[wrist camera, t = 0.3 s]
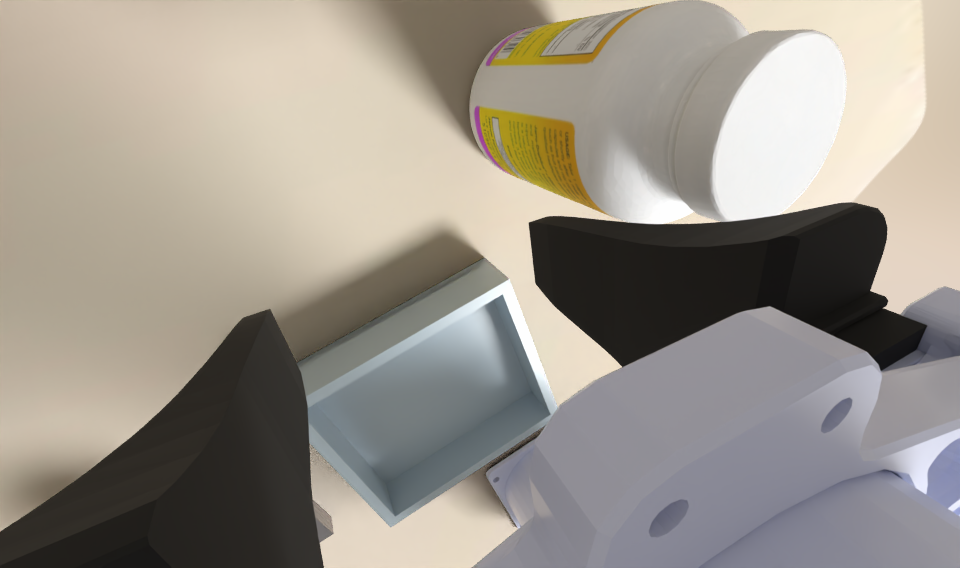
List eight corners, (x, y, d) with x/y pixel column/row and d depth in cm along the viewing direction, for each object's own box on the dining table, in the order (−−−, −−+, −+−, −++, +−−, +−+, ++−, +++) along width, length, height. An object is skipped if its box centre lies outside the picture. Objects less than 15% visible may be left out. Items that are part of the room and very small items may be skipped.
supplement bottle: (552, 188, 24) (777, 283, 13) (446, 151, 20) (632, 237, 10) (602, 62, 22) (912, 54, 11) (493, -1, 19) (786, -95, 8)
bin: (536, 386, 30) (560, 415, 27) (380, 486, 28) (390, 527, 25) (484, 257, 24) (509, 279, 21) (278, 373, 22) (279, 411, 19)
